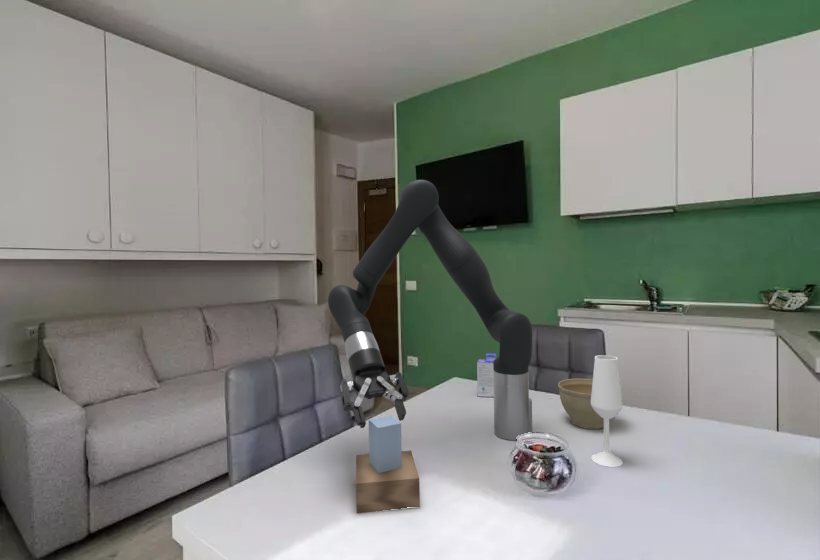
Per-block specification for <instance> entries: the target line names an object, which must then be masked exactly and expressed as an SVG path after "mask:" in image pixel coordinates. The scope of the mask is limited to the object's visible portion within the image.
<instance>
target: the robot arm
mask: <svg viewBox="0 0 820 560" xmlns="http://www.w3.org/2000/svg"><path fill="white" fill-rule="evenodd" d="M438 191H439V190H438V189H437V188H436V186H435V184H433V183H432V182H431V181H428V180H426V179H416V180H413V181H411V182H409V183H407V184H406V185H405V186H404V187H403V189H402V190H401V191H400V195H399V203H398V205H397V207H396V209H395V211H394V213H393V215H392V217H391V218H390V220H389V221H388V223H387V224H386V226H385V227H384V229H383V230H382V231H381V232H380V234H379V235H378V236H377V237H376V239H374V241H373V242H372V243H371V245H370V246H369V247H368V249H367V250H366V252H364V254H363V255H362V257H361V259H359V262H358V263H357V265H356V266H355V267H354V269H353V271H352V276H353V278H354V279H355V280H356V281H357V282H358V284H357V288H356V289H354V288H352V287H350V286H347V285H345V284H338V285H336V286H334V287H332V289H331V290H330V291H329V293H328V297H327V304H328V308H329V311H330V313H331V315H332V318H334V320H335V322H336V324H337V326H338V327H339V329H340V330H341V333H342V339H343V342H344V348H345V354H346V360H347V362H348V366H349V370H350V373H351V377H352V380H351V381H348V380H347V379H344V378H343V379H342V380H341V382H340V385H339V391H340V397H341V398H340V399H341V402H342V409H343V410H344V411H346V412H347V411H352V413H353V416H354V419H355V424H356V425H357V427H359V428H360V429H364V428H365V426H366V424H367V421H366V418H365V414H364V410H363V407H362V406H361V405H362V402H363V400H364V399H367V400H371V399H374V398H377V399H378V398H382V397H384V398H385V399H386V400H388V401H389V400H390V401H391V402H392V403H393V404H394V408H395V411H396V414H397V419H398V421H399V422H401V421H404V420H405V418H406V414H407V409H406V407H405V403H404V401H405V402H406V400H407V398H408V396H409V395H410V391H409V390H408V389H409V388H408V387H407V384H406V381H405V379H404V377H403V374H402V373H401V372H400V371H397V372H396V373H395V374H391V375H389V374H388V372H387V371H386V366H385V363H384V360H383V357H382V354H381V351H380V350H381V349H380V348H379V345H378V342H377V340H376V338H375V336H374V333H373V330H372V329H373V328H372V327H371V324H370V321H369V319H368V318H367V317H366V316H365V314H367V312H368V310H369V309H370V306H371V304H372V300H373V298H374V295H375V294H376V293H375V292H376V291H377V286H378V284H379V282H380V281H381V280H382V279H383V277H384V275H385V274H386V272H387V271H388V269H389V268H390V267H391V266H392V264H393V262H394V260H395V259H396V257H397V256H398V254H399V253H400V251H401V250H402V248H403V247H404V245H405V244H406V242H407V241H408V239H409V238H410V237H411V236H412V234H414V232H415V231H416V230H417V228H418V229H419V231H420V232H421V233H422V234H423V235H424V237H425V238H426V239H427V241H428V242H429V245H430V246H431V248H432V250H433V252H434V253H435V256H437V258H438V260H439V261H440V263H441V264H442V266H443V268H444V269H445V270H446V272H447V273H448V274H449V276H450V278H451V279H452V280H453V282H454V283H455V284H456V286H457V287H458V288H459V290H460V291H461V292H462V294H463V295H464V296H465V297H466V299H467V300H468V301H469V303H470V304H471V305H472V307H473V308H474V309H475V311H476V312H477V314H478V316H479V318H480V320H481V322H482V323H483V325H484V327H485V328H486V330H487V332H488V333H489V335H490V337H492V339H493V340H495V342H497V343H499V351H498V352H499V354H498V357H496V359H495V360H494V362H493V372H494V397H493V422H494V423H493V428H494V429H493V430H494V431H493V433H494V435H495V436H497V437H499V438H501V439H504V440H508V441H517V440H516V437H517V436H518V435H521V434H524V433H528V432H532V433H533V400H532V398H531V397H530V384H529V380H530V378H529V371H530V370H529V369H530V368H529V366H530V363H531V361H532V354H533V353H532V351H533V328H532V324H531V321H530V319H529V317H528V316H526V314H523V313H520V312H516V311H512V310H510V309H509V308H508V306H507V305H505V304H504V302H503V301H502V300H501V299H500V296H499V295H498V294H497V292H496V290H495V289H494V286H493V283H492V279H491V275H490V273H489V270H488V267H487V266H486V264H485V262H484V261H483V259H482V257H481V256H480V255H479V253H478V252H477V250H476V249H475V248H474V246H473V245H472V244H471V243H470V242H469V241H468V240H467V239H466V238H465V237H464V236H463V235H462V233H460V232H459V231H458V230H457V228H455V227H454V226H453V224H451V223H450V221H449V220H448V218H447V217H446V216H445V214H444V212H443V211H442V209H441V208H440V205H439V198H440V197H439V192H438ZM390 383H392V384H393V385H391V384H390ZM394 386H395V387H396V389H397V390H396V389H395V387H394ZM352 389H354V390H355V391H356V392H357V393H358V395H357V397H356V399H355V401H352V400H351V394H350V392H351V390H352Z"/></svg>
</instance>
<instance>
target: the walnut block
mask: <svg viewBox="0 0 820 560" xmlns="http://www.w3.org/2000/svg"><path fill="white" fill-rule="evenodd" d="M415 462H416V461H415V458H414V455H413V452H412V450H402V468H398V469H394V470H390V471H386V472H383V473H378V472H377V471H376V470H375V469H374V468H373V466H372V465H371V464H370V463H369V453H364V454H363V453H361V454H356V455H355V495H356V496H355V502H356V503H355V504H356V514H364V513H365V514H366V513H374V512H375V513H376V511H377V512H384V511H383V510H388V511H392V510H391V509H398V510H402V509H401V508H407V507H419V508H421V497H420V493H421V492H420V488H421V487H420V475H419V473H418V472H419V471H418V469H417V466H416V463H415Z"/></svg>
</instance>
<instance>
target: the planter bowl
mask: <svg viewBox="0 0 820 560" xmlns="http://www.w3.org/2000/svg"><path fill="white" fill-rule="evenodd" d="M592 383H593V378H568V379H567V378H566V379H563V380H561V381H559V382H558V385H557V387H558V391H559V392H558V393H559V399H560V402H561V405H562V406H563V409H564V411H565V412H566V414H567V416H568V417H569V418H570V422H571V423H572V424H573V425H575V426H577V427H580V428H584V429H595V430H596V429H604V418H602V417H601V416H600V415H598V414H597V413H596V412H595V410H594V409H593V408H592V406H591V393H592Z"/></svg>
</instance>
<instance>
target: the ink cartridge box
mask: <svg viewBox="0 0 820 560" xmlns="http://www.w3.org/2000/svg"><path fill="white" fill-rule="evenodd" d="M490 356H493V357H490ZM496 358H497V353H491V352H490V353H489V352H487V353H485V359H477V362H476V376H477V377H476V379H477V382H476V383H477V385H476V386H477V387H476V388H477V389H476V390H477V397H482V398H483V397H487V398H494V372H493V362H494V360H495V359H496Z"/></svg>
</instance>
